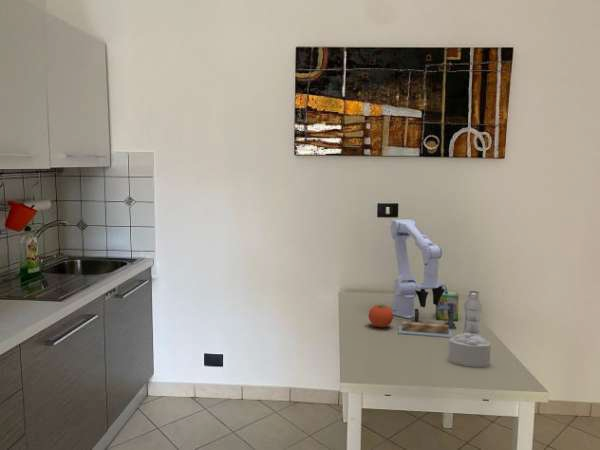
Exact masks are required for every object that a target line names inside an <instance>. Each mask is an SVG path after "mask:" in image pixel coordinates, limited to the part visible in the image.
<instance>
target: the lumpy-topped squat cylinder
mask: <svg viewBox="0 0 600 450" xmlns="http://www.w3.org/2000/svg"><path fill="white" fill-rule="evenodd" d="M448 339H449V340H448V352H447V353H448V355H447V358H448V359H447V360H448V361H449V362H450V363H453V364H457V365H460V366H465V367H471V368H472V367H473V368H474V367H479V368H482V367H483V368H484V367H489V366H490V359H491V356H490V355H491V343H490V342H488V341H487V339H486V338H484V337H482V335H480V336H479V335H475V336H471V334H469V333H463V332H462V333H461V334H456V335H455V336H453V337H452V338H448Z"/></svg>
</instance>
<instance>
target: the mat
mask: <svg viewBox="0 0 600 450" xmlns="http://www.w3.org/2000/svg"><path fill="white" fill-rule="evenodd" d="M397 327H398V335H406V336H407V335H408V336H409V335H410V336H420V337H421V336H422V337H435V338H443V339H447V338H448V339H450V338H452V337H454V336H453V333H452V329H449V333H448V334H438V333H426V332H413V331H403V330H402V327H403V325H398V326H397Z"/></svg>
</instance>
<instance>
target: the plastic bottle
mask: <svg viewBox="0 0 600 450" xmlns="http://www.w3.org/2000/svg"><path fill="white" fill-rule="evenodd" d="M467 296H468V299H466V301H465V303H464V306H463V307H464V326H463V332H462V334H463V333H469V334H471V336H475V335H479V336H481V330H480V324H481V323H480V322H481V314H482V310H483V309H482V308H483V304H482V303H481V301H480V299H479V298H480V292H479V291H476V290H469V291H468V295H467Z"/></svg>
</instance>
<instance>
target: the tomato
mask: <svg viewBox="0 0 600 450" xmlns="http://www.w3.org/2000/svg"><path fill="white" fill-rule="evenodd" d="M368 319H369V322H370V323H371V324H372V325H373V326H375V327H377V328H386V327H388V326H389V325H390V324H391V323H392V321H393V320H394V315H393V313H392V308H390V307H388V306H386V305H384V304H377V305H373V307H371V309H369V311H368Z"/></svg>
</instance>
